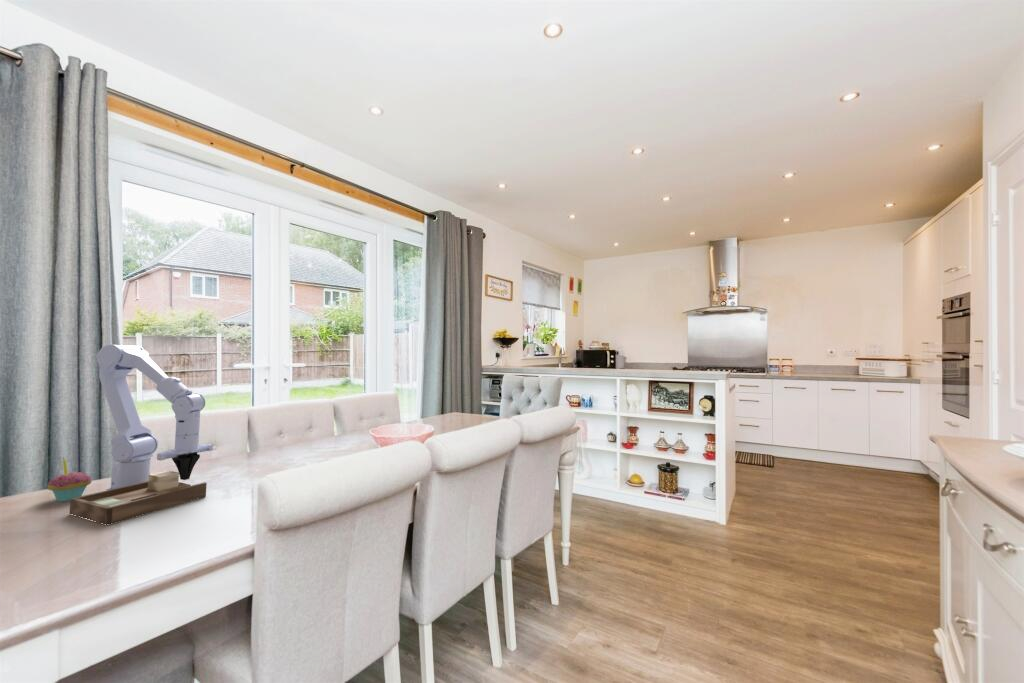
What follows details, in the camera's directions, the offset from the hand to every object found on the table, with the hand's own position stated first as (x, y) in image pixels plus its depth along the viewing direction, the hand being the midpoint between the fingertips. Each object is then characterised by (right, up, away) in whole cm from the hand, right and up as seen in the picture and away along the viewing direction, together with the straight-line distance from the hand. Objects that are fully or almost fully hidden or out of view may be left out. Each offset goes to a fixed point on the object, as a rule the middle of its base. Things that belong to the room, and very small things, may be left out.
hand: (184, 479), depth 127 cm
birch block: (-2, -1, -5) cm, 6 cm away
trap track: (-1, -3, -12) cm, 13 cm away
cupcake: (-25, -3, -10) cm, 27 cm away
